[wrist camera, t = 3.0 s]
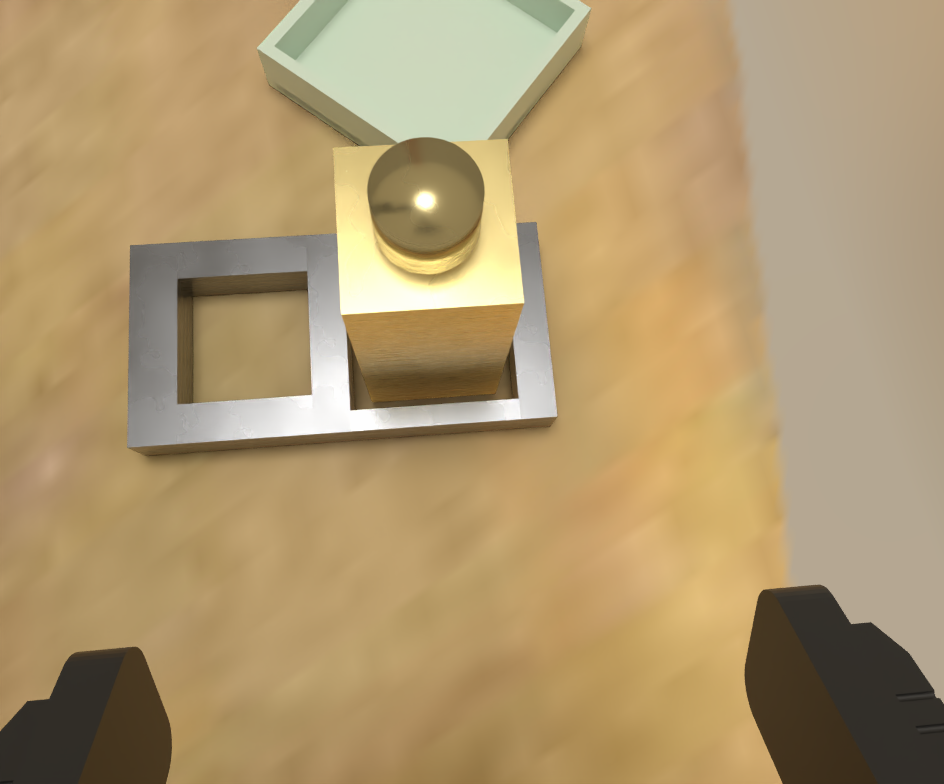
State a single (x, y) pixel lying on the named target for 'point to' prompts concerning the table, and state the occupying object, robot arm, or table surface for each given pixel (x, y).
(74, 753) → the robot arm
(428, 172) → the gold perfume bottle
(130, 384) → the grey metal holder frame
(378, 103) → the parts tray
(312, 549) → the table surface
